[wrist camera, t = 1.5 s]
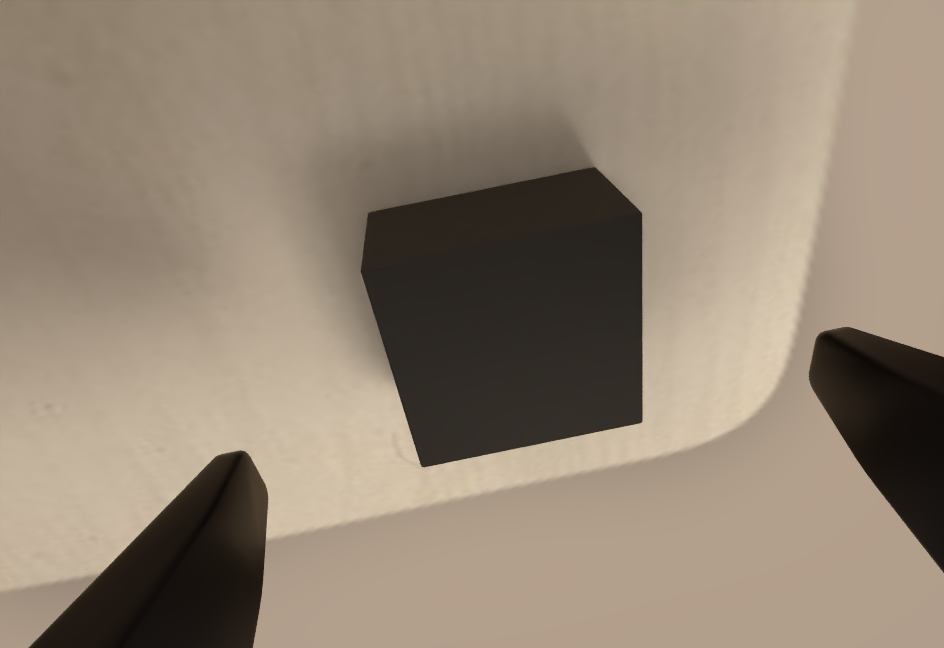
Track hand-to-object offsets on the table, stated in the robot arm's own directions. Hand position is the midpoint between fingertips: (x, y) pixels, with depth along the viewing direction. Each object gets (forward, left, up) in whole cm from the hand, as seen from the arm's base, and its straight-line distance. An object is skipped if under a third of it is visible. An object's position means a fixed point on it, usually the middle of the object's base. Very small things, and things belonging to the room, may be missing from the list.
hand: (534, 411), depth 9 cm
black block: (0, 0, -4) cm, 4 cm away
